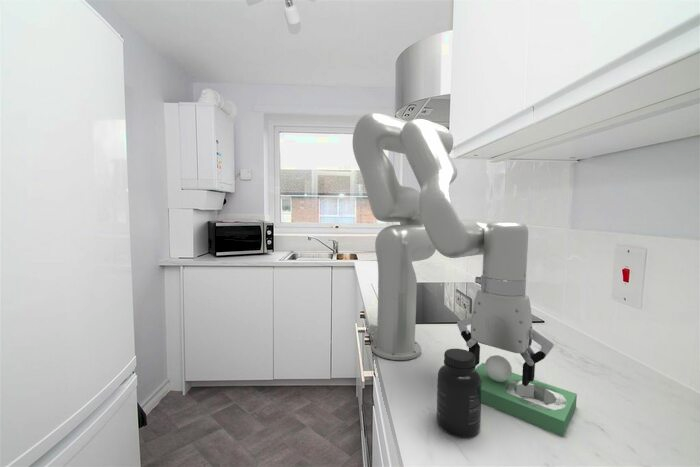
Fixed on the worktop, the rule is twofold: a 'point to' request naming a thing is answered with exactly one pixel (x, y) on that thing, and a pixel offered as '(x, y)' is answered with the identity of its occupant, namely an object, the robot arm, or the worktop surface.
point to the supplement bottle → (459, 394)
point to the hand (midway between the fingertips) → (499, 373)
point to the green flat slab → (511, 401)
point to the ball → (498, 368)
